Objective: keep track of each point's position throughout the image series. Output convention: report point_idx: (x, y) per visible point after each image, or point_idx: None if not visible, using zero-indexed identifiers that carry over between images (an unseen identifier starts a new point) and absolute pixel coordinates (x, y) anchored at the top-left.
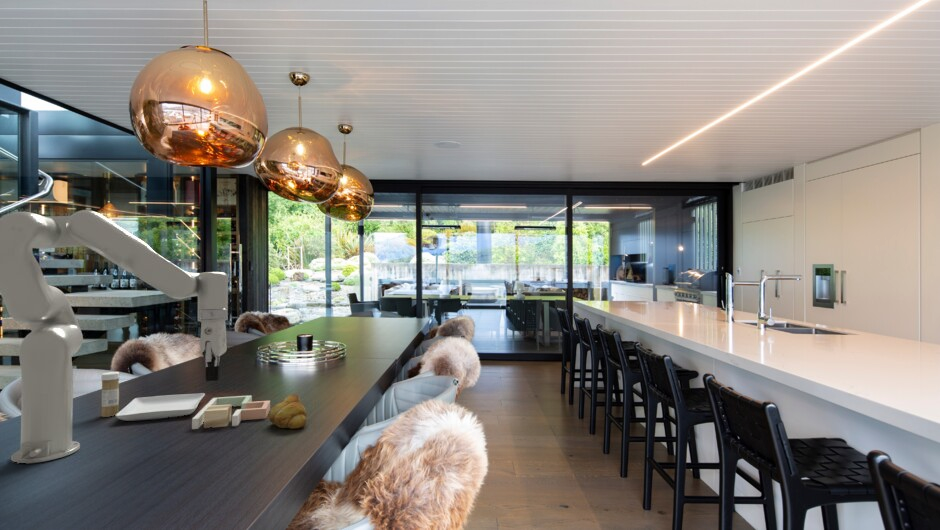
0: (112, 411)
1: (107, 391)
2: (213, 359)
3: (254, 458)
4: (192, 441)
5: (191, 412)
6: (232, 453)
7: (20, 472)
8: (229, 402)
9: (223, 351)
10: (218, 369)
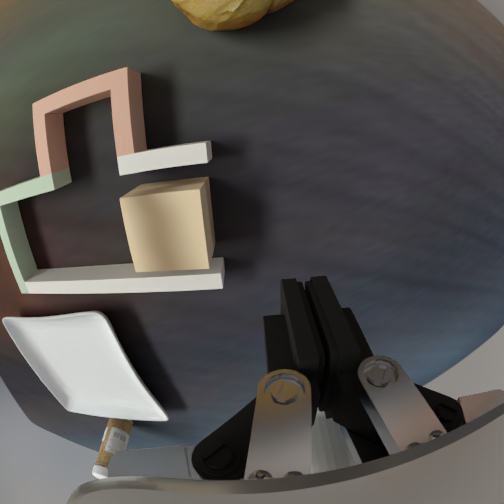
0: (125, 422)
1: None
2: (459, 415)
3: (476, 76)
4: (341, 233)
5: (103, 313)
6: (450, 117)
7: None
8: (20, 245)
9: (421, 491)
10: (343, 328)
